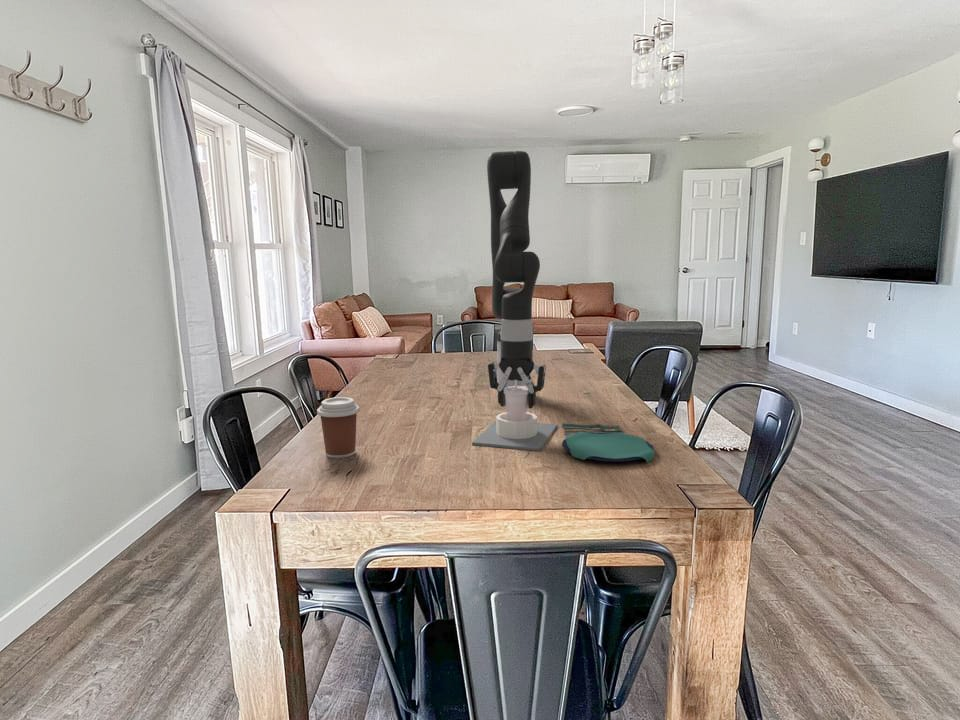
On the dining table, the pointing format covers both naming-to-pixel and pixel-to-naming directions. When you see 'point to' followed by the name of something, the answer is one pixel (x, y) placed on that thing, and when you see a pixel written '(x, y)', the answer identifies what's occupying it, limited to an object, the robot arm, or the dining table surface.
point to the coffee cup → (339, 426)
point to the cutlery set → (605, 444)
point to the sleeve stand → (516, 433)
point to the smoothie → (516, 402)
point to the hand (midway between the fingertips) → (516, 406)
